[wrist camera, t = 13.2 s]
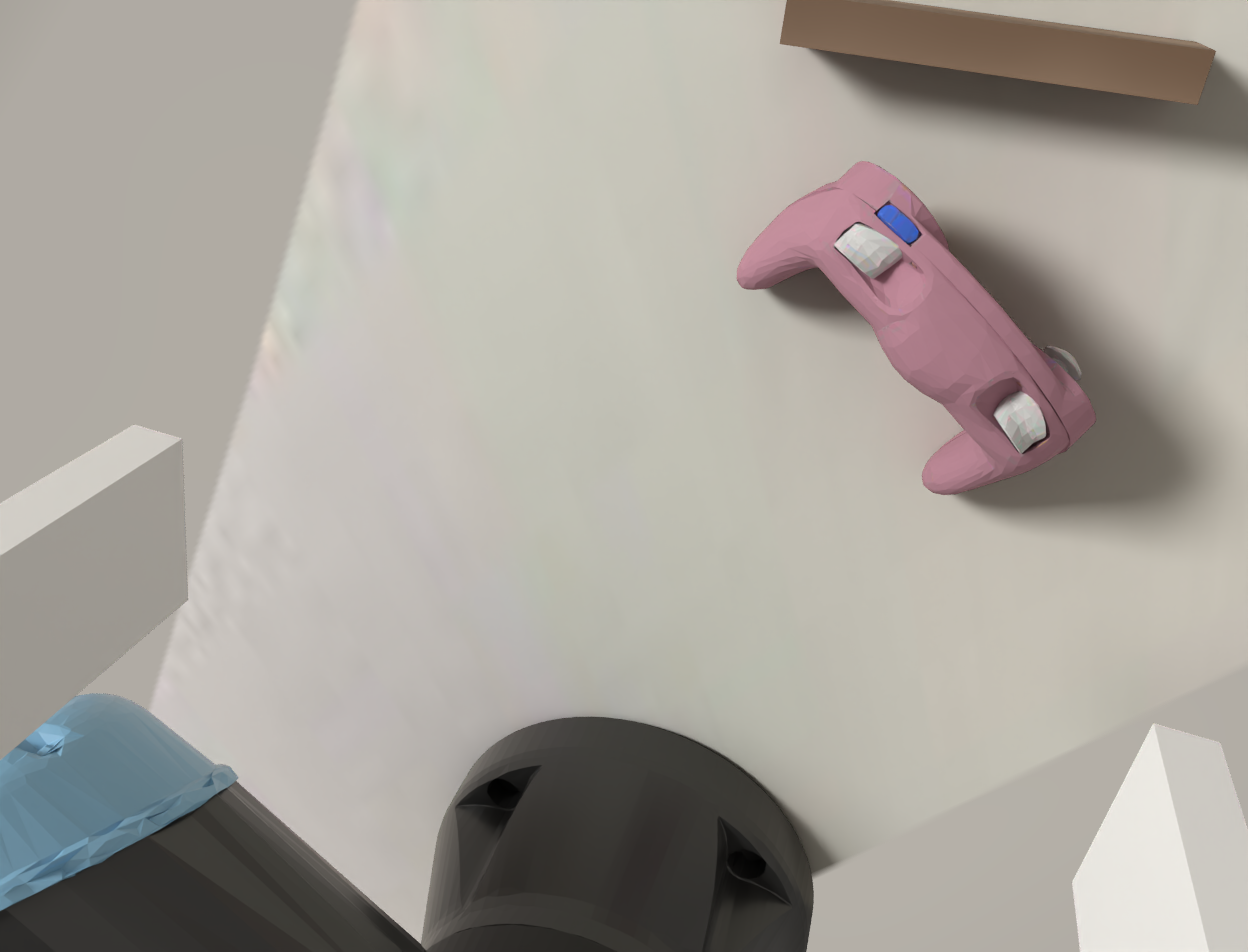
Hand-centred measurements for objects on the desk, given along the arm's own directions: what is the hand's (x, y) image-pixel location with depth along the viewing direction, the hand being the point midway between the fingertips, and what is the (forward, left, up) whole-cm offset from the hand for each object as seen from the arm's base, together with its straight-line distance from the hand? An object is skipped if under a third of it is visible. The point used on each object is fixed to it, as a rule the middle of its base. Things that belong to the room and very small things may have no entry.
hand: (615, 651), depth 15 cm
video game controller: (-1, -3, -21) cm, 21 cm away
